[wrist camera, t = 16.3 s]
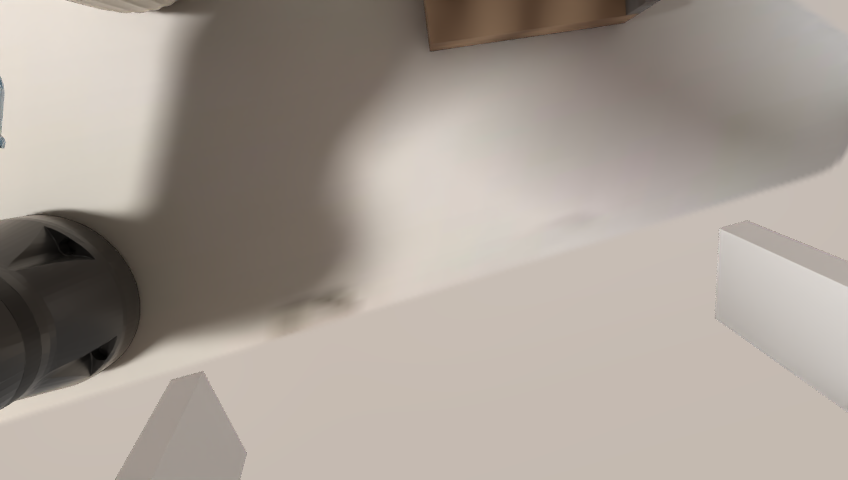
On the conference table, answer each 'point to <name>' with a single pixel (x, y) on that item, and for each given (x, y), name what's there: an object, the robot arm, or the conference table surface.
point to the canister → (126, 5)
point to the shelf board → (519, 18)
